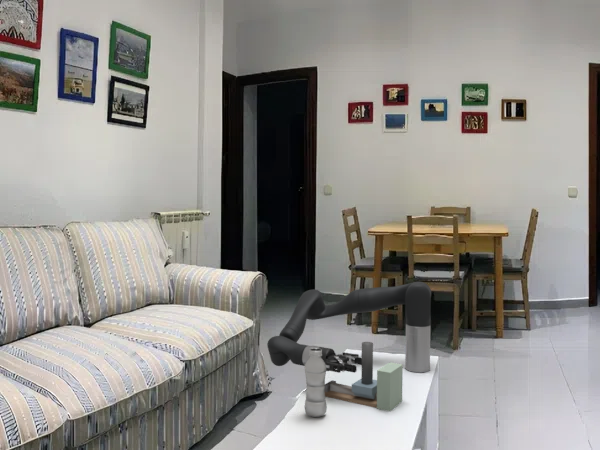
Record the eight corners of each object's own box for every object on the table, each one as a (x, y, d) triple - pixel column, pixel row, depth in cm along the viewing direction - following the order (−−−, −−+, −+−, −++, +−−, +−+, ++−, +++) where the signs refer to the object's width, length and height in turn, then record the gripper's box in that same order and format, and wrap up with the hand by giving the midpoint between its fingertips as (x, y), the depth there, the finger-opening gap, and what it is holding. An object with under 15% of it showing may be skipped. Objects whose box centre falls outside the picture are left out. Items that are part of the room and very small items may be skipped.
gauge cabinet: (387, 398, 182) (387, 362, 182) (402, 401, 180) (402, 364, 179) (374, 407, 174) (375, 370, 173) (390, 411, 171) (390, 372, 171)
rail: (334, 387, 192) (334, 379, 192) (388, 398, 182) (388, 389, 182) (321, 395, 185) (321, 386, 184) (376, 407, 174) (376, 398, 174)
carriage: (362, 388, 186) (362, 339, 185) (381, 392, 182) (382, 342, 181) (351, 396, 179) (352, 344, 178) (371, 400, 175) (372, 347, 175)
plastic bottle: (324, 420, 164) (325, 353, 163) (302, 418, 165) (302, 352, 164) (328, 412, 170) (328, 347, 169) (306, 410, 172) (306, 346, 171)
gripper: (308, 351, 183) (352, 359, 175) (329, 342, 195) (371, 349, 187) (307, 374, 184) (352, 383, 175) (328, 363, 196) (371, 371, 187)
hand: (362, 365), depth 181 cm, fingers open, 8 cm apart
